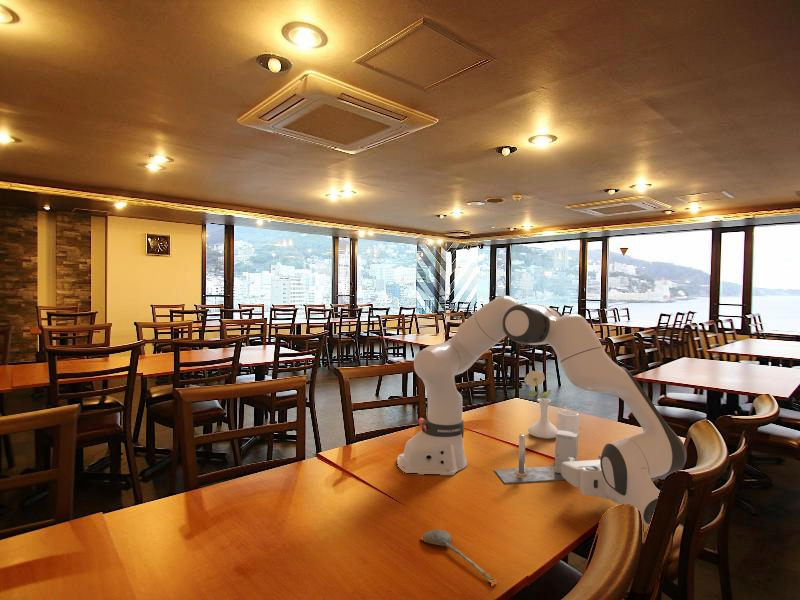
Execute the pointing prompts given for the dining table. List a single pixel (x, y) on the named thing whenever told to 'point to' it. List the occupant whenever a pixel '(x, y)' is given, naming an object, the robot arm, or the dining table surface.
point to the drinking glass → (568, 421)
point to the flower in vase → (542, 425)
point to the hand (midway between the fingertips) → (585, 458)
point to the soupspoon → (449, 546)
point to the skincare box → (565, 448)
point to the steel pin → (521, 456)
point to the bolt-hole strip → (529, 475)
